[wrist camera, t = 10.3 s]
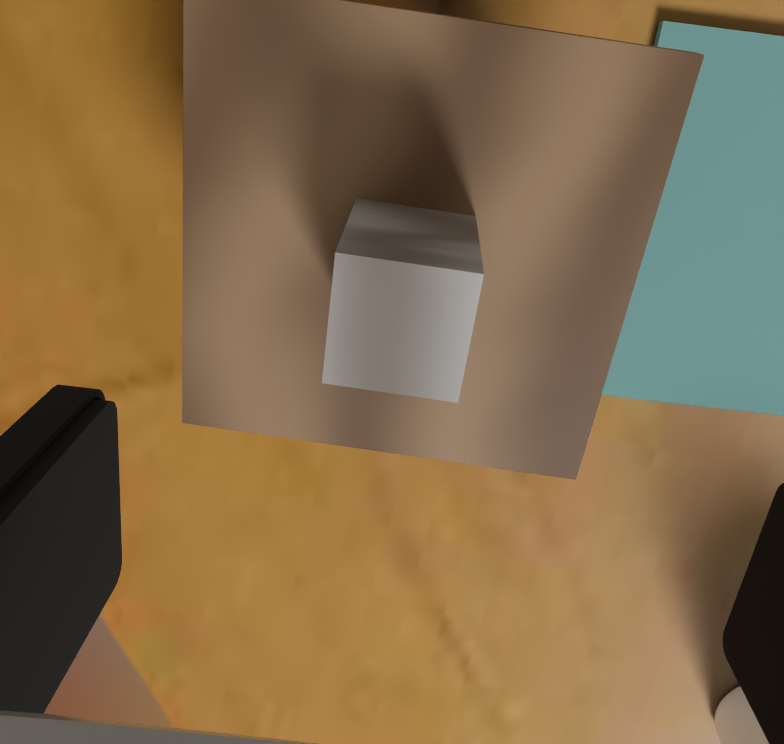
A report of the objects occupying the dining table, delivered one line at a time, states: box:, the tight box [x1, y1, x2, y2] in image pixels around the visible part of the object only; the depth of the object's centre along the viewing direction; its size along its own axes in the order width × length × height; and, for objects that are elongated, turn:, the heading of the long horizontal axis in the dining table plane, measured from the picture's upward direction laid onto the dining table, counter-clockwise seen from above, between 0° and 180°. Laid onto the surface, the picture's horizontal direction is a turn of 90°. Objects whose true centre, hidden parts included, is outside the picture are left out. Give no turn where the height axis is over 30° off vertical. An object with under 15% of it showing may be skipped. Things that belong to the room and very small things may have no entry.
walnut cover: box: [182, 0, 704, 480], centre depth 21 cm, size 14×14×6 cm
